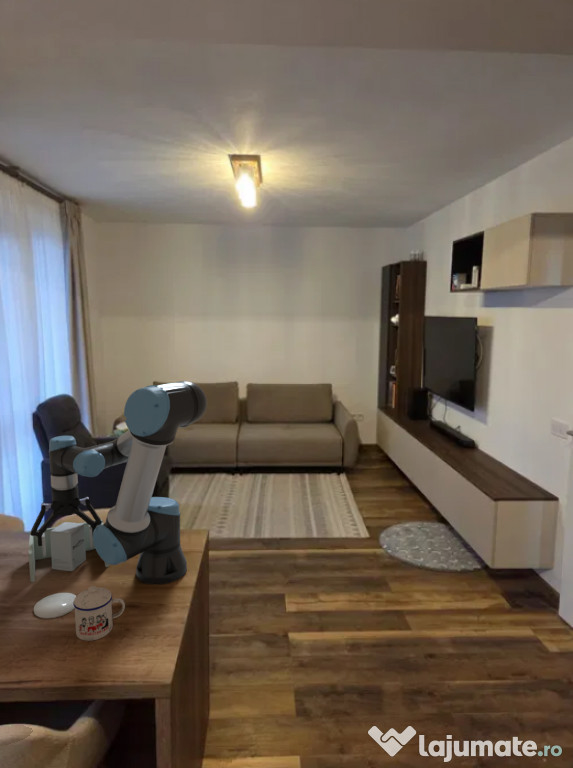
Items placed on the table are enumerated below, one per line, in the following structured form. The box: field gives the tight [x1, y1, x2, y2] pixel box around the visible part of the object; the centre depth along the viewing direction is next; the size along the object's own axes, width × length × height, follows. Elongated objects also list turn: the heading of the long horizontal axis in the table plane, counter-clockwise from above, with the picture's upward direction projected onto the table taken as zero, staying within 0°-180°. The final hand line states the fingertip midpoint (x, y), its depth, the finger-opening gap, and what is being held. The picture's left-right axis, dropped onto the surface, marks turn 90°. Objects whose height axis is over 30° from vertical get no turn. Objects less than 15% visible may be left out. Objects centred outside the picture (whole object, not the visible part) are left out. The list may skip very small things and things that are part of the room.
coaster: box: [33, 592, 77, 619], centre depth 136 cm, size 11×11×1 cm
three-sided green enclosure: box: [28, 519, 110, 583], centre depth 158 cm, size 15×22×10 cm
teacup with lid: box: [73, 585, 126, 642], centre depth 126 cm, size 12×9×12 cm
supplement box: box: [50, 521, 87, 572], centre depth 157 cm, size 7×7×13 cm
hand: (68, 550), depth 157 cm, fingers open, 13 cm apart
